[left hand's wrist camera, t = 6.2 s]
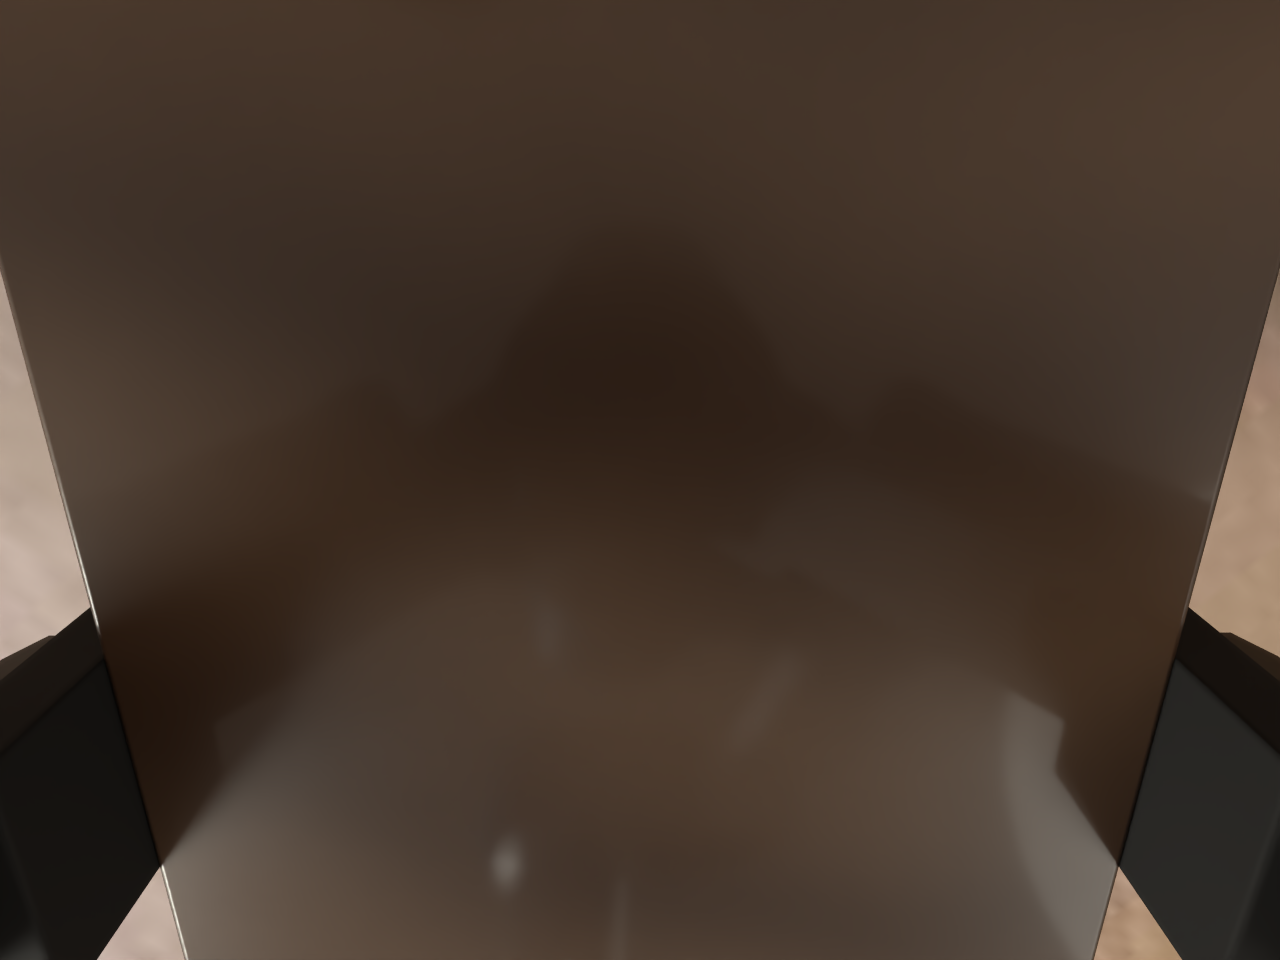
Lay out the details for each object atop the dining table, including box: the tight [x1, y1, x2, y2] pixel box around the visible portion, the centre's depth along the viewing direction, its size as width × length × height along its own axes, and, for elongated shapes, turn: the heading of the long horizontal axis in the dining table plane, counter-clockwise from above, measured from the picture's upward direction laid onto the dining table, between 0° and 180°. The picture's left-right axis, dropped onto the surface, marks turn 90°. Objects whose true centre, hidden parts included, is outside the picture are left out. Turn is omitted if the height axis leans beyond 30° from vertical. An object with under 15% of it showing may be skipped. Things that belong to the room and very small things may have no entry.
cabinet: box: [0, 0, 1280, 960], centre depth 12 cm, size 17×11×11 cm, turn 0°
